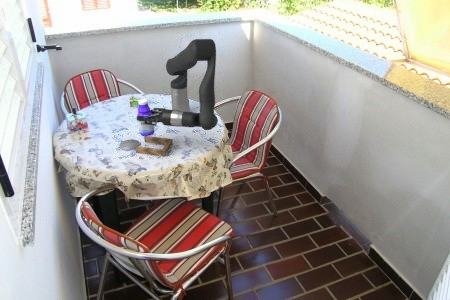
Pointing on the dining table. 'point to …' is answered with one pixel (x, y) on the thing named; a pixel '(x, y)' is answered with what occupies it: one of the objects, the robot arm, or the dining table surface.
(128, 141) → the coaster
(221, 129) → the dining table surface
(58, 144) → the dining table surface
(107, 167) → the dining table surface
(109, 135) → the dining table surface
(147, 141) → the wooden frame
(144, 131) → the bottle
